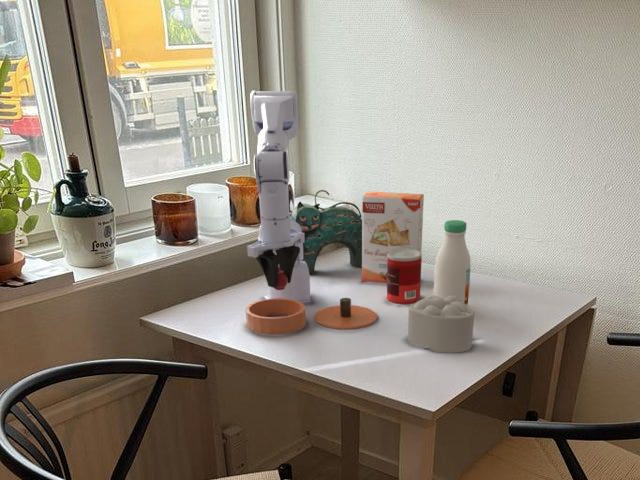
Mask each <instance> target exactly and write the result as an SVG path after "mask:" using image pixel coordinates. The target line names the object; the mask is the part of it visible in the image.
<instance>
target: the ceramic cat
mask: <svg viewBox="0 0 640 480" xmlns="http://www.w3.org/2000/svg"><path fill="white" fill-rule="evenodd" d="M321 192H323V193H326V194H327V195H328V196H330V193H329V191H327V190H325V189H319V190H318V191H317V192H316V193H315V196H314V205H312V204H309V203H303V202H301V201H299V202H298V203H297V205H296V206H295V207H294V208H293V209H292V211H291V219H293V220H294V221H295V222H297V223H298V224H299V225H300V227H301V228H302V233H304V237H305V242H304V243H303V260H302V261H305V262H306V264H307V266H308V269H309V275H313V274H315V271H316V269H315V268H316V264H317V260H318V256H319V255H320V253H321V251H322V250H323V248H324V247H326V246H329V245H332V244H335V243H337V244H341V245H344V246H345V247H346V248H347V249H348V252H349V264H350V266H352V267H354V268H362V212H361V211H360V208H359V207H358V206H357V205H356V204H355V203H352V202H349V201H340V202H337V203H335V204H333V205H331V206H328V207H324V208H323V207H320V205H321V204H320V203H317V195H318V194H320V193H321ZM339 205H350V206H352V207H354V208H355V209H356V210H357V211H358V213H357V212H356V211H354V210H353V209H350V208H348V207H345V206H339Z"/></svg>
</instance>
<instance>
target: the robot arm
mask: <svg viewBox="0 0 640 480" xmlns="http://www.w3.org/2000/svg"><path fill="white" fill-rule="evenodd" d="M249 95H250V97H249V101H250V115H251V121H252V126H253V131H254V133H255V136H256V137H257V154H254V156H253V171H254V172H253V173H254V178H255V181H256V189H257V190H256V191H257V194H258V200H259V215H260V225H259V228H258V239H257V241H255V242H254V243H252V244H250V245H246V249H247V256H248V257H250V258H254V259H255V260H256V261H257V262H258V264H259V266H260V267H261V269H262V272H263V274H264V277H265V280H266V283H267V290H268V291H267V292H268V293H267V295H264V296H263V298H264V299H271V298H284V299H292V300H297V301H299V302H301V303H303V304H305V303H311V302H312V300H311V278H310V277H311V276H310V274H309V269H308V266H307V264H306V262H305V261H302V260H303V243H304V242H305V237H304V233H302V228H301V227H300V225H299V224H298V223H297V222H295V221H294V220H293V219H292V217H291V216H290V200H289V199H290V198H289V197H290V196H289V183H290V177H291V176H290V174H291V173H290V159H289V154H288V149H289V144H290V140H292V139H293V138H295V137H297V134H298V133H297V132H298V130H299V123H298V120H299V119H298V118H299V113H298V112H299V111H298V108H299V107H298V94H297V92H296V91H295V90H294V89H292V90H273V91H272V90H270V91H269V90H267V91H266V90H265V91H263V90H262V91H260V90H259V91H258V90H257V91H256V90H252V91H251V93H250V94H249ZM278 267H279V269H280V270H281V271H284V273H285V274H286V276H287V278H288V283H287V285H286V287H285V289H283V290H276V289H274V288H277V286H278Z"/></svg>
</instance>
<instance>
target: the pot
mask: <svg viewBox="0 0 640 480" xmlns="http://www.w3.org/2000/svg"><path fill="white" fill-rule="evenodd" d="M306 313H307V312H306V305H305V303H301V302H299V301H297V300H292V299H284V298H271V299H265V298H264V299H260V300H256V301H254V302H251V303H249V304H248V305H247V306H246V307H245V318H246V326H247V328H248V329H249V330H251V331H252V332H254V333H258V334H263V335H285V334H291V333H294V332H297V331H299V330H302V329H304V327H305V326H306V325H307V317H306V315H307V314H306ZM274 315H284V316H276V317H275V316H274Z"/></svg>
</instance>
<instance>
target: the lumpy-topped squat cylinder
mask: <svg viewBox="0 0 640 480" xmlns="http://www.w3.org/2000/svg"><path fill="white" fill-rule="evenodd" d="M407 318H408V319H407V321H408V322H407V340H408V341H409V342H411V343H413V344H416V345H419V346H422V347H424V348H423V350H427V351H430V352H435V353H447V354H448V353H450V354H453V353H457V354H458V353H463V352H468V351H470V350H471V349H472V346H473V344H472V343H473V333H474V322H475V321H474V320H475V311H474V310H473V308H472V307H471V306H469V304H468V305H466V304H465V303H462V302H461V300H460V299H459V298H458V297H457V296H448V297H447V298H446V299H444V298H440V297H438V296H435V295H432V294H431V295H428V296H427V297H425V298H422V299H419V300H418V301H417V302H414V303H411V304H409V306H408V317H407Z"/></svg>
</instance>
